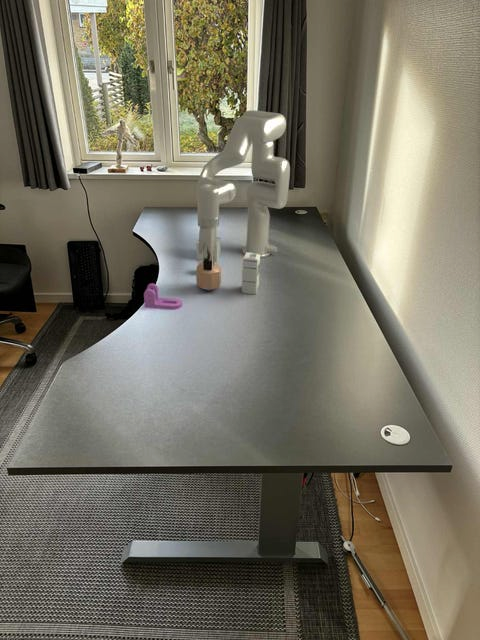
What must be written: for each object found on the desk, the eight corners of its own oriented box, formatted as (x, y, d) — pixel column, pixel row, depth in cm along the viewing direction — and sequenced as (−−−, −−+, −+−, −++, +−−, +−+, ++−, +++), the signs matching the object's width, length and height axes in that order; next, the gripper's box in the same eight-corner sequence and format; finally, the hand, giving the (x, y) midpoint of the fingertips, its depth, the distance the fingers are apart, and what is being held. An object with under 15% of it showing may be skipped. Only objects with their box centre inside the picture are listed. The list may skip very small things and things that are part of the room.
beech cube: (207, 270, 201) (207, 262, 199) (207, 275, 198) (208, 266, 195) (197, 271, 200) (197, 262, 198) (198, 275, 197) (198, 266, 195)
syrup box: (256, 294, 184) (258, 259, 177) (241, 292, 185) (242, 257, 178) (258, 288, 189) (261, 253, 182) (243, 286, 190) (245, 251, 183)
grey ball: (213, 287, 188) (213, 279, 186) (211, 292, 185) (211, 283, 183) (204, 286, 188) (204, 278, 186) (202, 291, 185) (202, 282, 183)
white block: (220, 254, 216) (220, 224, 209) (216, 262, 208) (217, 231, 201) (200, 252, 217) (200, 222, 210) (196, 260, 209) (196, 229, 202)
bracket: (144, 307, 173) (143, 290, 170) (148, 300, 178) (147, 283, 174) (181, 310, 173) (180, 292, 169) (183, 302, 177) (183, 285, 174)
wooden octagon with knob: (222, 279, 189) (222, 249, 183) (218, 290, 182) (218, 259, 175) (199, 277, 190) (199, 247, 184) (194, 288, 183) (193, 257, 176)
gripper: (202, 212, 180) (203, 257, 190) (192, 228, 166) (193, 276, 176) (222, 213, 179) (222, 259, 189) (214, 230, 165) (214, 278, 175)
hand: (208, 267), depth 182 cm, fingers closed on wooden octagon with knob, 3 cm apart
